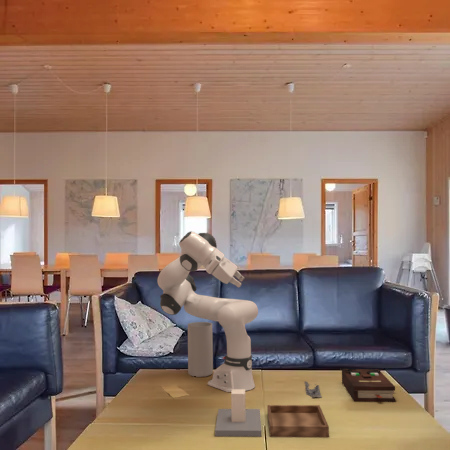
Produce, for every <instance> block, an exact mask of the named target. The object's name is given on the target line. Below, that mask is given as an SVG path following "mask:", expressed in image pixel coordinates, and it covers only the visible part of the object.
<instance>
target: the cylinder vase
mask: <svg viewBox="0 0 450 450" xmlns="http://www.w3.org/2000/svg"><path fill="white" fill-rule="evenodd" d="M213 342H214V341H213V323H212V322H209V321H208V322H207V321H195V322H190V323H187V369H188V371H187V372H188V373H187V374H188V375H189V376H191V377H194V376H196V377H195V378H203V377H204V378H205V377H209V376H211V375H213V373H214V363H213V362H214V359H213V357H214V355H213V352H214V351H213V348H214V347H213Z"/></svg>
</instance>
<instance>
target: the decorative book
mask: <svg viewBox="0 0 450 450" xmlns="http://www.w3.org/2000/svg"><path fill="white" fill-rule="evenodd" d="M340 370H341V383H342V384H343V387H345V389H346V391H347V392H348V394H349V396H350V398H351V399H352V402H354V403H357V402H359V403H396V398H395V397H394V396H393V394H397V393H396V386H395V385H394V384H393V383H392V382H391V381H390V380H389V379H388V378H387V377H386V375H384V374H383V373H382V372H381V371H383V368H340Z"/></svg>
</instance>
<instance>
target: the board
mask: <svg viewBox="0 0 450 450" xmlns="http://www.w3.org/2000/svg"><path fill="white" fill-rule="evenodd" d="M245 413H246V422H232V408H218V411H217V416H216V422H215V423H216V424H215V430H214V437H248V438H249V437H255V438H257V437H259V438H260V437H262V435H263V434H262V420H261V409H260V408H245Z"/></svg>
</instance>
